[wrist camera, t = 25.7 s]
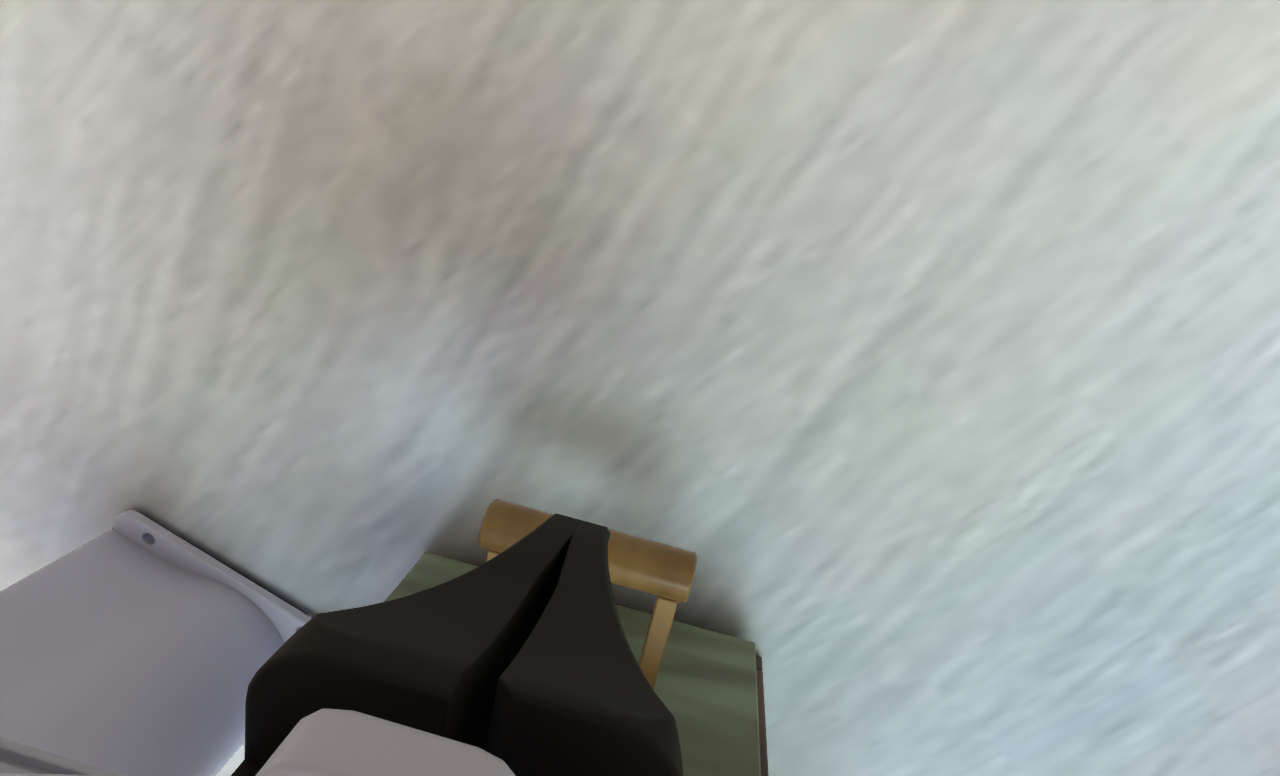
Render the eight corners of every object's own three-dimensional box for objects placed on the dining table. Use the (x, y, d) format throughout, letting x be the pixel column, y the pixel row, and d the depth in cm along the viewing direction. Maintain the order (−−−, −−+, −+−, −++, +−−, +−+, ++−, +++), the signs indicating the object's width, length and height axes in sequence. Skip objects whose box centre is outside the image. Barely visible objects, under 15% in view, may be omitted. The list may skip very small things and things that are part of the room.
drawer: (440, 428, 22) (330, 520, 16) (796, 522, 21) (821, 656, 15) (396, 794, 27) (304, 961, 21) (674, 878, 26) (657, 1076, 21)
